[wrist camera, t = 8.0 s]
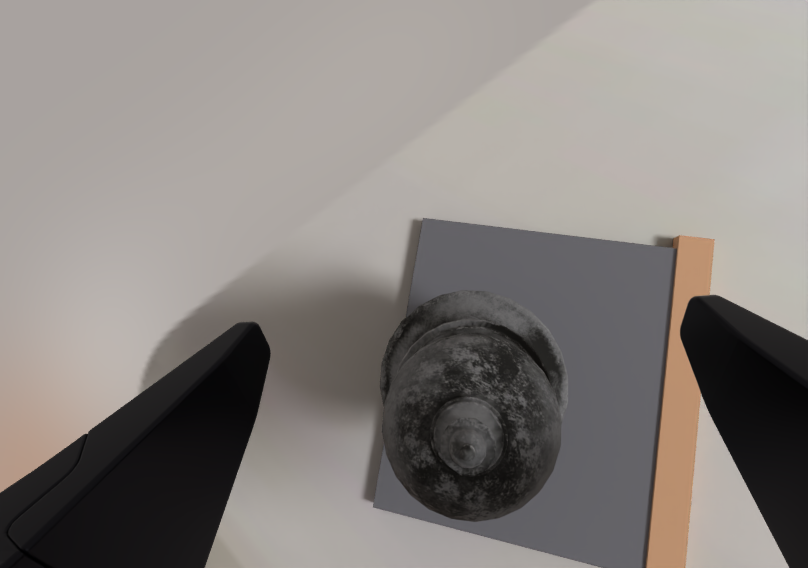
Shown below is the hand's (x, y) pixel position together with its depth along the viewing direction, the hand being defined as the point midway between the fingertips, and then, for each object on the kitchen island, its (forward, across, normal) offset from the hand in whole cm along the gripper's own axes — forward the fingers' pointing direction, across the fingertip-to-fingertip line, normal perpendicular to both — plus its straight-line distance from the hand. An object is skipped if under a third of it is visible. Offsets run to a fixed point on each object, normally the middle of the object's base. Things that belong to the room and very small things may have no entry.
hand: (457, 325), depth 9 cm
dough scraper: (+5, -2, +7) cm, 9 cm away
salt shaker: (+5, 0, +7) cm, 8 cm away
